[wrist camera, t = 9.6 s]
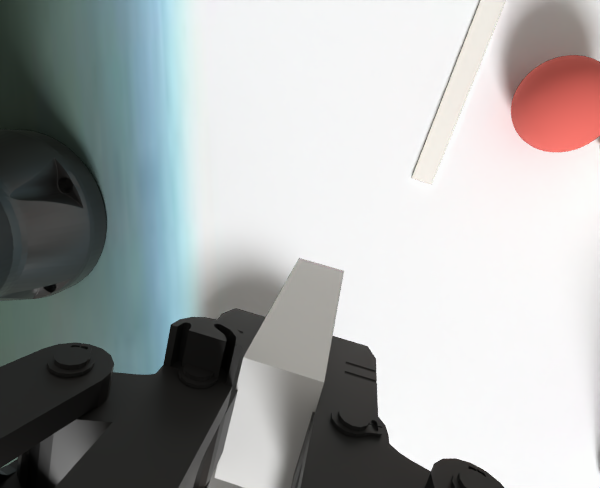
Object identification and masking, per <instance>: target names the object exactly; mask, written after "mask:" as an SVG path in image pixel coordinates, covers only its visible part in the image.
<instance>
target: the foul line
mask: <svg viewBox="0 0 600 488" xmlns="http://www.w3.org/2000/svg"><path fill="white" fill-rule="evenodd" d="M505 2H506V0H480V3H479V6H478V8H477V11H476V13H475V16H474V18H473V21H472V24H471V26H470V29H469V31H468V34H467V36H466V39H465V42H464V44H463V47H462V49H461V52H460V54H459V57H458V60H457V62H456V65H455V67H454V70H453V73H452V75H451V78H450V80H449V83H448V85H447V88H446V91H445V93H444V96H443V98H442V101H441V103H440V106H439V109H438V111H437V114H436V116H435V119H434V121H433V124H432V127H431V129H430V132H429V134H428V137H427V139H426V142H425V145H424V147H423V150H422V152H421V155H420V157H419V160H418V163H417V165H416V168H415V170H414V173H413V176H412V178H413V179H416V180H419V181H422V182H425V183H428V184H431V185H432V183H433V180H434V178H435V175H436V173H437V170H438V168H439V165H440V163H441V160H442V158H443V155H444V153H445V150H446V148H447V146H448V143H449V141H450V138H451V136H452V133H453V131H454V128H455V126H456V123H457V121H458V118H459V116H460V113H461V111H462V108H463V106H464V103H465V101H466V98H467V96H468V93H469V91H470V89H471V86H472V84H473V81H474V79H475V76H476V74H477V71H478V69H479V66H480V64H481V61H482V59H483V56H484V54H485V51H486V49H487V46H488V44H489V41H490V39H491V36H492V34H493V31H494V29H495V27H496V24H497V22H498V19H499V17H500V14H501V12H502V9H503V7H504V4H505Z"/></svg>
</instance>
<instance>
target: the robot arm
mask: <svg viewBox="0 0 600 488" xmlns="http://www.w3.org/2000/svg"><path fill="white" fill-rule="evenodd" d="M105 238H106V214H105V208H104V203H103V200H102V196H101V194H100V191H99V189H98V186H97V184H96V182H95V180H94V178H93V177H92V175H91V173H90V172H89V170H88V169H87V167H86V166H85V165H84V163H83V162H82V161H81V160H80V159H79V158H78V157H77V156H76V155H75V154H74V153H73V152H72V151H71V150H70V149H69V148H67V147H66V146H65V145H63V144H62V143H60V142H59V141H57V140H55V139H53V138H51V137H49V136H47V135H44V134H41V133H38V132H34V131H29V130H9V129H0V301H8V300H24V299H37V298H43V297H47V296H51V295H54V294H56V293H59V292H61V291H63V290H65V289H67V288H69V287H71V286H73V285H75V284H77V283H79V282H80V281H81V280H83V279H84V278H85V277H86V276H87V275H88V274H89V273H90V272H91V271H92V270H93V268H94V267H95V265H96V264H97V262H98V260H99V258H100V256H101V253H102V250H103V247H104V243H105ZM343 273H344V271H342V270H339V269H335V268H332V267H328V266H325V265H321V264H318V263H314V262H311V261H307V260H304V259H300V258H299V259H298V261H297V263H296V265H295V266H294V268H293V270H292V272H291V274H290V275H289V277H288V279H287V281H286V282H285V284H284V286H283V288H282V290H281V291H280V293H279V295H278V297H277V298H276V300H275V302H274V304H273V305H272V307H271V309H270V311H269V313H268V314H267V316H266V317H263V316H260V315H256V314H253V313H250V312H246V311H243V310H240V309H233V310H231V311H228V312H226V313H223V314H222V315H221V316H220V317H219V318H218V319H217V320H216V319H211V318H206V317H190V318H185V319H180V320H178V321H176V322H175V323H173V324H171V327H170V333H169V338H168V343H167V349H166V354H165V360H164V365H163V366H162V367H161V368H160V369H159V371H158V372H157V373H156V374H151V375H136V374H126V373H115V372H113V367H114V362H113V360H112V357H111V355H110V354H108V353H107V352H106V351H105V350H103V349H101V348H98V347H96V346H93V345H90V344H81V343H67V344H58V345H54V346H51V347H47V348H44V349H41V350H39V351H37V352H34V353H32V354H30V355H27V356H25V357H23V358H20V359H18V360H16V361H13V362H11V363H9V364H6V365H4V366H1V367H0V488H209V483H210V479H211V477H212V475H213V473H214V470H215V468H216V466H217V469H216V473H215V477H214V478H217V479H220V480H223V481H226V482H229V483H232V484H235V485H238V486H241V487H244V488H504V487H503V486H502V484H501V483H500V482H498V481H497V480H496V479H495V478H494V477H492V476H491V475H490V474H489V473H487V472H486V471H484V470H483V469H481V468H479V467H477V466H476V465H473V464H471V463H469V462H466V461H462V460H459V459H442V460H440V461H438V462H436V463H435V464H434V465H433V468H432V470H431V472H430V471H429V470H427V469H425V468H423V467H422V466H420V465H418V464H416V463H415V462H413V461H411V460H409V459H408V458H406V457H405V456H403V455H402V454H400V453H399V452H398V451H397V450H396V449H394V448H393V447H392V446H391V445H390V444H389V437H388V433H387V430H386V427H385V425H384V423H383V422H382V421H381V420H380V418H379V417H378V406H377V383H376V381H377V379H376V358H375V357H374V355H373V354H372V352H371V351H370V349H369V348H368V346H365V345H361V344H358V343H355V342H351V341H348V340H345V339H341V338H338V337H335V336H332V335H333V330H334V324H335V318H336V313H337V307H338V301H339V296H340V290H341V284H342V279H343ZM17 457H18V459H17V460H15V461H14V462H12V463H11V464H9V465H7V466H5V467H2V466H4V465H6V464H7V463H9V462H10V461H12V460H13V459H15V458H17ZM217 464H218V465H217ZM1 467H2V468H1Z"/></svg>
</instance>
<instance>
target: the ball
mask: <svg viewBox="0 0 600 488" xmlns="http://www.w3.org/2000/svg"><path fill="white" fill-rule="evenodd" d="M511 117H512V122H513V125H514V128H515V130H516V132H517V133H518V134H519V136H520V137H521V138H522V139H523V140H524V141H525V142H526V143H528V144H529V145H531V146H533V147H534V148H537V149H539V150H543V151H547V152H566V151H571V150H575V149H578V148H581V147H583V146H585V145H587V144H589V143H590V142H592V141H593V140H595V139H596V138H597V137H599V136H600V62H599V61H597V60H595V59H592V58H589V57H586V56H578V55H568V56H561V57H557V58H554V59H551V60H549V61H546V62H544V63H543V64H541V65H539V66H538V67H536V68H535V69H533V70H532V71H531V72H530V73H529V74H528V75H527V76H526V77H525V78H524V79H523V80H522V82H521V83H520V85H519V86H518V88H517V90H516V92H515V94H514V97H513V100H512V106H511Z"/></svg>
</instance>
